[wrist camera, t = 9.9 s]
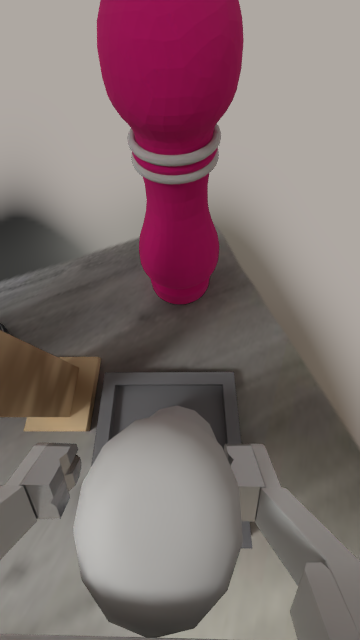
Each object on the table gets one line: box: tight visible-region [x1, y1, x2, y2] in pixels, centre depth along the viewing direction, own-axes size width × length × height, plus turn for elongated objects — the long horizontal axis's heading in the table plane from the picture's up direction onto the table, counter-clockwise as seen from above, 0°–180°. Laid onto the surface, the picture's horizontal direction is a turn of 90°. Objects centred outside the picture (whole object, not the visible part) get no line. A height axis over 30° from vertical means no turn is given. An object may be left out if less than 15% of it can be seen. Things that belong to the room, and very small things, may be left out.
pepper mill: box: [97, 0, 243, 304], centre depth 15 cm, size 7×7×20 cm
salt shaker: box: [73, 406, 243, 638], centre depth 11 cm, size 6×6×13 cm
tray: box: [91, 372, 252, 548], centre depth 16 cm, size 11×11×1 cm
